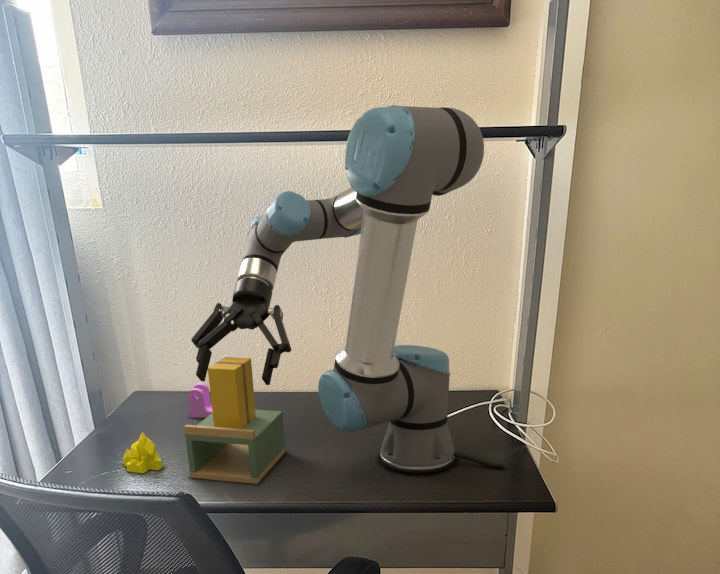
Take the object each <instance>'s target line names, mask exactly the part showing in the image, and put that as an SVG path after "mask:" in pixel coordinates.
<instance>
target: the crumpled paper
mask: <svg viewBox="0 0 720 574" xmlns="http://www.w3.org/2000/svg"><path fill="white" fill-rule="evenodd" d="M156 449H157V448H156V445H155V443H154V442H153V441H152V440H151V439H150V438H149V437H147V436H146V435H145V433H144V432H143V431H142V432H141V433H140V436H139V438H138V440H137V441H134V443H133V444H131V447H130V449H128V448H126V450H125V452H124V455H123V458H122V462H123V466H124V467H126V471H127V472H130V473H136V474H137V473H138V474H145V473H146V472H147V471H150V470H154V471H160V470H161V469H163V468H164V467H163V466H164V464H163V459H161V457H160V456H159V454H158V452H159V451H157V450H156Z"/></svg>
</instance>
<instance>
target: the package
mask: <svg viewBox="0 0 720 574" xmlns="http://www.w3.org/2000/svg"><path fill="white" fill-rule="evenodd" d="M207 375H208V384H209V385H208V386H209V393H210V402H211V404H212V412H213V420H214V427H223V428H236V429H242V428H243V427H244V426H246V425H247V424H248V423H249V422H250V421H251V420H252V419H253V418H254V417H256V411H255V410H256V401H255V391H254V377H253V367H252V358H249V357H233V356H231V357H230V356H225V357H222V358H221V359H220V360H218V361H216V362H215V363H214V364H212V365H211V366H210V365H209V366H208V370H207Z"/></svg>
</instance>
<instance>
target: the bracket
mask: <svg viewBox="0 0 720 574" xmlns="http://www.w3.org/2000/svg"><path fill="white" fill-rule="evenodd" d="M187 401H188V408H189V417H190V418H193V419H194V418H199V419H201V418H203V419H205V418H207V417H208V416H209V415H211V414H212V413H213V412H212V403H211V394H210V387H209V385H207V384H206V383H204V382H198V383H196V384H195V385H194V386H193V388H192V389H190V391H189V392H188V394H187Z"/></svg>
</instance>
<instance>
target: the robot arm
mask: <svg viewBox="0 0 720 574" xmlns="http://www.w3.org/2000/svg"><path fill="white" fill-rule="evenodd" d="M484 157H485V143H484V137H483V133H482V131H481V128H480V126H479V125H478V124H477V122H476V121H475V120H474V119H473V117H471V116H470V115H469V114H467V113H466V112H465V111H463V110H461V109H458V108H454V107H442V106H441V107H432V106H431V107H430V106H429V107H428V106H410V105H409V106H408V105H407V106H406V105H397V104H393V105H388V106H384V107H383V106H380V107H379V106H378V107H373V108H369V110H367V111H365V112H364V113H362V115H361V116H360V117H359V118H357V119H356V121H355V123H354V124H353V126H352V127H351V129H350V132H349V133H348V137H347V140H346V143H345V149H344V158H343V159H344V163H343V164H344V169H345V170H346V171H347V172H346V179H347V181H348V183H349V185H350V187H349V188H347V189H345V190H343V191H342V192H341V193H338V194H337V195H335V196H333V197H331V198H324V199H323V198H322V199H321V198H320V199H306V198H305V197H304V196H303V195H301V194H299V193H296V192H294V191H293V190H287V191H283V192H281V193H279V194H278V195H277V196H276V197H275V199H274V200H272V202H271V203H269V205H268V206H267V209H266V211H265V212H264V214H262V215H260V216H256V217H255V218H253V220H252V221H251V224H250V226H249V227H250V228H249V229H248V231H247V237H246V241H245V246H244V251H243V255H242V259H241V262H240V266H239V271H238V274H237V278H236V283H235V286H234V290H233V293H232V301H231V304H230V305H229V306H224V305H222V304H221V302H218V303H215V306H214V309H213V311H212V313H211V314H210V315H209V316H208V317H207V319H206V320H205V321H204V323H203V324H202V325H200V327H199V329H198V330H197V331H196V332H195V333H194V335H193V336H192V337H191V338H190V339H191V343H192V344H193V345H194V346H195V348H196V349H197V354H196V358H195V360H196V363H197V364H198V365H197V368H196V372H195V376H196V377H197V378H198V380H199V381H200V382H205V381H206V378H207V375H208V368H209V367H210V362H211V357H212V354H213V352H212V351H211V349H212V348H214V346H215V345H217V344H218V343H219V342H220V341H221V340H223V339H224V338H225V337H227V336H228V335H229V334H230V333H231V332H235V331H236V330H237V329H239V330H247V329H248V330H251V331H252V330H255V329H257V328H259V330H260V332H261V334H263V336H264V338H265V339H266V340H267V342H268V343H269V345H270V346H271V348H269V347H268V348H267V352H266V357H265V361H264V366H263V370H262V375H261V379H262V381H263V383H264V385H266V386H270V385H271V381H272V376H273V371H274V369H278V368H279V364H280V360H281V355H282V354H284V353H290V352H292V346H291V343H290V340H289V337H288V334H287V331H286V328H285V327H286V326H285V325H284V322H283V320H284V312H283V310H282V308H281V306H280V305H279V304H275V305H274V306H273V307H270V305H271V301H272V297H273V291H274V288H275V284H276V279H277V275H278V271H279V265H280V262H281V259H282V256H283V255H284V253H285V252H286V251H287V250H288V249H289V247H290V246H291V245H292V244H293V243H296V242H304V241H316V240H324V239H335V238H344V239H345V238H350V237H354V236H359V235H360V237H359V244H358V252H357V258H356V266H355V273H354V280H353V288H352V294H351V303H350V310H349V317H348V324H347V332H346V340H345V345H344V346H343V347H341V348H340V349H338V350H337V351H336V353H335V358H334V359H335V360H334V364H333V369H327V370H326V371H325V372H323V373H322V374H321V375H320V377H319V379H318V385H317V386H318V387H317V390H318V398H319V401H320V404H321V407H322V410H323V411H324V414H325V416H326V417H327V419H328V420H329V422H330V423H331V424H332V425H333V426H334V427H335V428H336V429H337V430H339V431H341V432H345V433H351V432H355V431H364V430H366V429H368V428H370V427H371V428H372V427H375V426H378V425H382V424H386V423H388V426H387V429H386V432H385V435H384V437H383V441H382V444H381V447H380V452H379V454H380V456H379V457H380V463H381V464H382V465H383V466H385V467H386V468H388V469H389V470H393V471H395V472H399V473H405V474H410V475H411V474H412V475H413V474H414V475H425V474H434V473H438V472H443V471H445V470H447V469H449V468H451V467H452V466H453V465H454V464H455V462H456V458H459V459H463V460H467V461H470V462H473V463H476V464H480V465H483V466H486V467H490V468H495V469H496V468H497V469H504V463H500V462H492V461H489V460H485V459H482V458H479V457H475V456H472V455H469V454H465V453H460V452H457V451H456V449H455V445H454V441H453V438H452V435H451V432H450V429H449V425H448V413H449V410H448V409H449V392H450V376H451V372H450V359H449V356H448V354H447V353H446V352H445V351H443V350H440V349H437V348H434V347H430V346H422V345H415V344H414V345H413V344H400V345H399V344H397V345H396V340H397V336H398V329H399V324H400V319H401V314H402V313H401V312H402V307H403V302H404V296H405V292H406V291H405V290H406V286H407V281H408V275H409V269H410V265H411V260H412V259H411V257H412V253H413V247H414V241H415V236H416V231H417V225H418V221H419V220H420V219H421V218H422V217H424V216H425V215H427V214H428V213H429V212H430V208H431V203H432V199H433V196H436V197H440V196H444V195H447V194H449V193H452V192H453V191H455V190H458V189H460V188H462V187H464V186H465V185H467V184H469V183H470V182H471V181H472V180H473V179H474V178H475V177H476V175H477V174H478V173H479V170H480V169H481V166H482V164H483V160H484ZM269 317H271V319H273V320H274V324H275V326H276V330H277V332H278V337H279V339H280V342H281V343H278V341H277V340H276V339H275V336H273V334H272V333H271V331H270V330H269V328H268V327H267V325H266V324H265V321H266V320H267V319H268V318H269ZM232 322H233V323H232Z"/></svg>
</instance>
